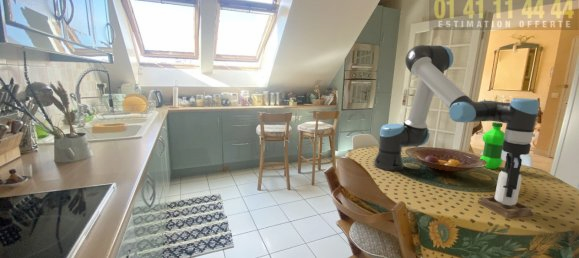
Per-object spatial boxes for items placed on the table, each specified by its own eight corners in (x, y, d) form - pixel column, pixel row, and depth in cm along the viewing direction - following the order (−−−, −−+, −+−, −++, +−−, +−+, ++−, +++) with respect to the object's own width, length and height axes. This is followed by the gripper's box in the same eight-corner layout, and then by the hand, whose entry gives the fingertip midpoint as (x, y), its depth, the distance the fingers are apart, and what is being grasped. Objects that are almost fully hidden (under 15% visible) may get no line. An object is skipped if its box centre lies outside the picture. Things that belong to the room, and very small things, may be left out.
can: (490, 199, 99) (495, 169, 96) (501, 196, 101) (506, 167, 98) (509, 207, 93) (515, 176, 90) (520, 204, 95) (527, 173, 93)
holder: (506, 218, 91) (507, 211, 90) (477, 202, 102) (478, 196, 101) (532, 215, 93) (534, 209, 92) (501, 200, 104) (502, 194, 103)
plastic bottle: (503, 171, 135) (512, 125, 130) (479, 168, 140) (486, 123, 135) (499, 166, 144) (508, 122, 138) (477, 163, 149) (484, 120, 144)
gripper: (537, 149, 82) (522, 214, 87) (526, 137, 98) (514, 193, 103) (506, 145, 86) (494, 208, 91) (500, 135, 102) (490, 188, 107)
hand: (505, 200), depth 97 cm, fingers closed on can, 6 cm apart
